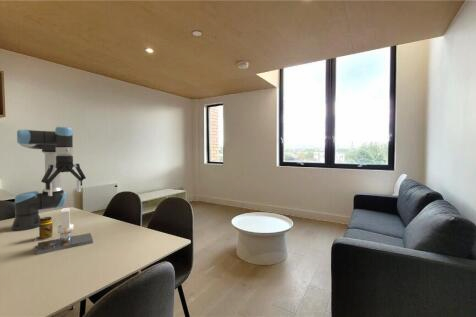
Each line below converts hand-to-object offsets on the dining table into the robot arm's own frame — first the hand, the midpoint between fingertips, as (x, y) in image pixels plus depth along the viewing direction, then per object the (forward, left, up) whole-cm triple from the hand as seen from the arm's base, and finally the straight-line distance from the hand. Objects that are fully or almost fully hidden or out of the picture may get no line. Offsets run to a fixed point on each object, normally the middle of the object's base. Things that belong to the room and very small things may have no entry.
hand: (65, 193), depth 125 cm
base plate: (0, 0, -28) cm, 28 cm away
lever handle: (+1, 0, -21) cm, 21 cm away
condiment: (-19, -10, -29) cm, 36 cm away
